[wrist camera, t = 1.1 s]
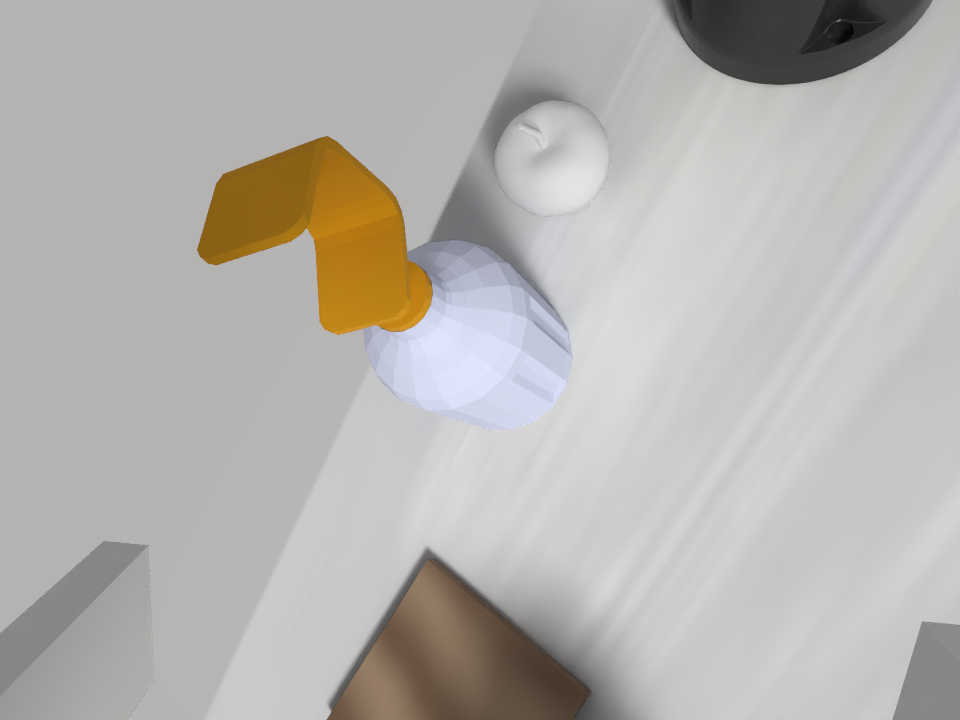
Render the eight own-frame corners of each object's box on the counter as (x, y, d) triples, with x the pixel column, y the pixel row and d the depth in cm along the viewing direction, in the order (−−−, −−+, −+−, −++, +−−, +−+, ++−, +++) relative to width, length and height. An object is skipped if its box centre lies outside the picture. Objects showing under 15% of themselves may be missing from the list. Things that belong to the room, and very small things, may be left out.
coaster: (433, 558, 42) (427, 559, 41) (591, 691, 37) (587, 694, 36) (333, 716, 42) (326, 720, 42) (476, 869, 37) (471, 876, 37)
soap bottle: (450, 442, 43) (133, 369, 21) (436, 311, 46) (138, 122, 23) (584, 418, 40) (380, 303, 18) (561, 280, 43) (357, 28, 21)
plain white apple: (516, 148, 46) (472, 80, 39) (619, 129, 44) (592, 52, 36) (515, 242, 45) (469, 190, 37) (621, 228, 42) (594, 169, 35)
